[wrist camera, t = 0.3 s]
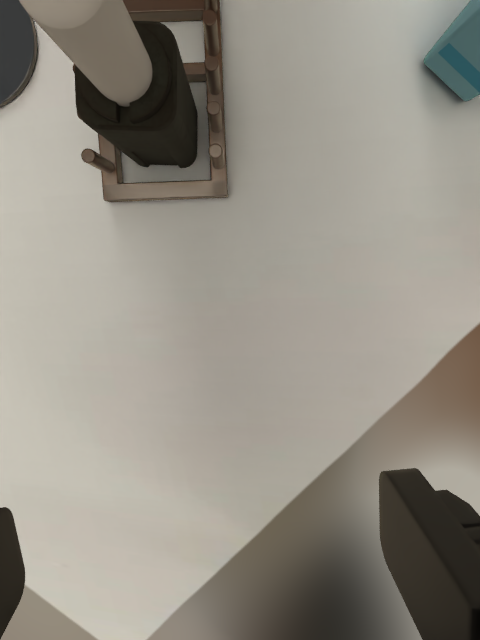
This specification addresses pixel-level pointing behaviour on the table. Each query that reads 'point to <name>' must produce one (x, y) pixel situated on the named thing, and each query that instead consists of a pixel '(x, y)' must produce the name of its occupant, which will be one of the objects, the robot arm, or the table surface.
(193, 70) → the drying rack
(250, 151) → the table surface
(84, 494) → the table surface
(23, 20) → the slate coaster
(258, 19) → the table surface
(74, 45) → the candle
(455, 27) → the data package
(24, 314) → the table surface
